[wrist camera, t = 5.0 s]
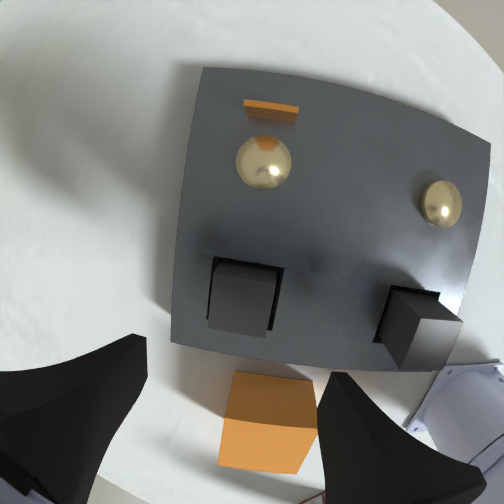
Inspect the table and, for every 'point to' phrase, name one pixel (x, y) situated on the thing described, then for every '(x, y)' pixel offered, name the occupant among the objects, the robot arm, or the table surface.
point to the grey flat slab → (322, 213)
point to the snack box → (316, 499)
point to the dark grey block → (242, 297)
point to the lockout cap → (268, 423)
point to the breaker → (418, 331)
